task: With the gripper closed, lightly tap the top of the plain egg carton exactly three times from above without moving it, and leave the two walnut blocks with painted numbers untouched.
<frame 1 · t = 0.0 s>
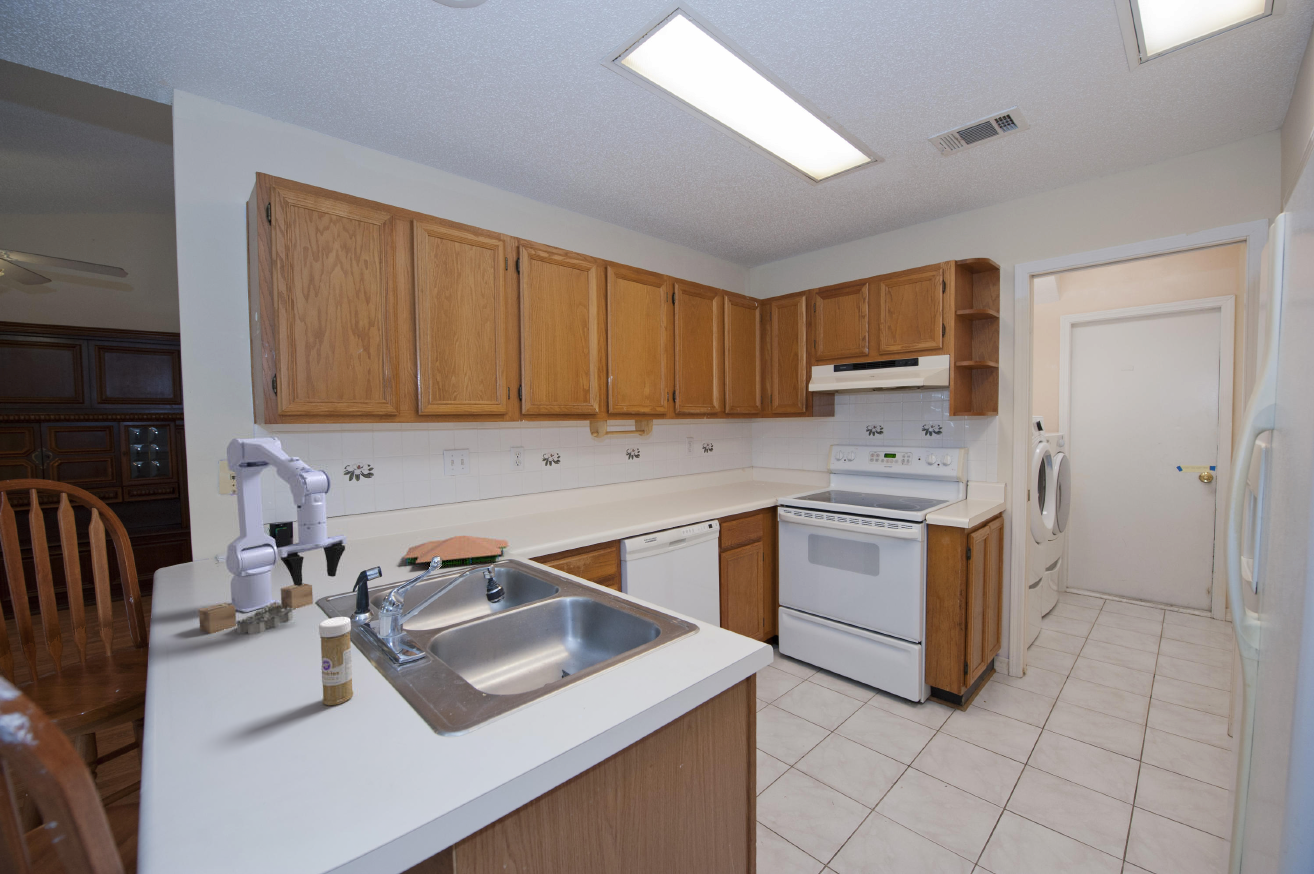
hand: (315, 580, 126), 10 cm above the worktop, tool pointing down, fingers open, 7 cm apart
egg carton: (266, 627, 126), on the worktop
numbered block seven: (218, 628, 125), on the worktop
numbered block one: (297, 605, 139), on the worktop
sprinkles bottle: (338, 700, 91), on the worktop
house: (458, 560, 183), on the worktop
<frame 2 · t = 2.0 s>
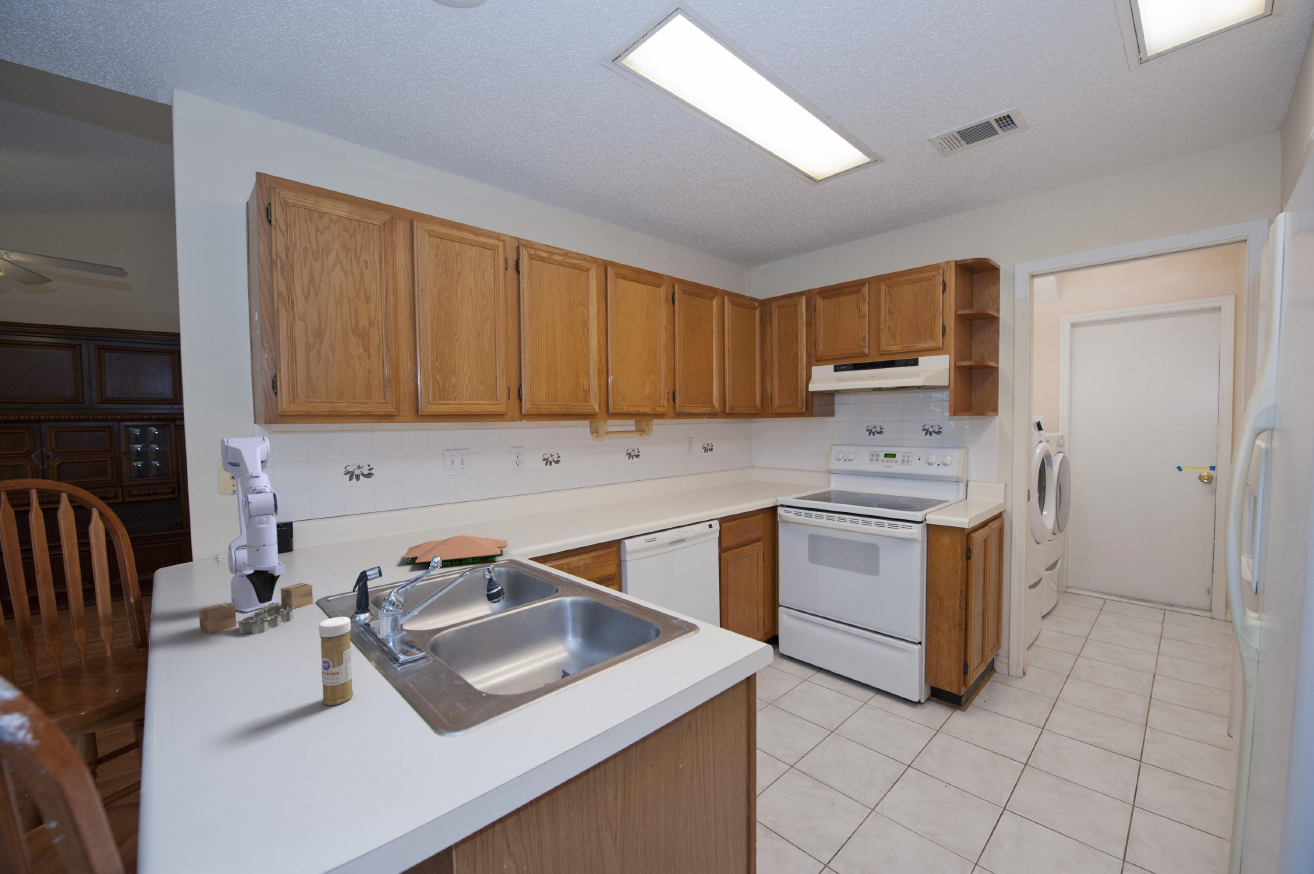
hand: (265, 601, 126), 5 cm above the worktop, tool pointing down, fingers closed
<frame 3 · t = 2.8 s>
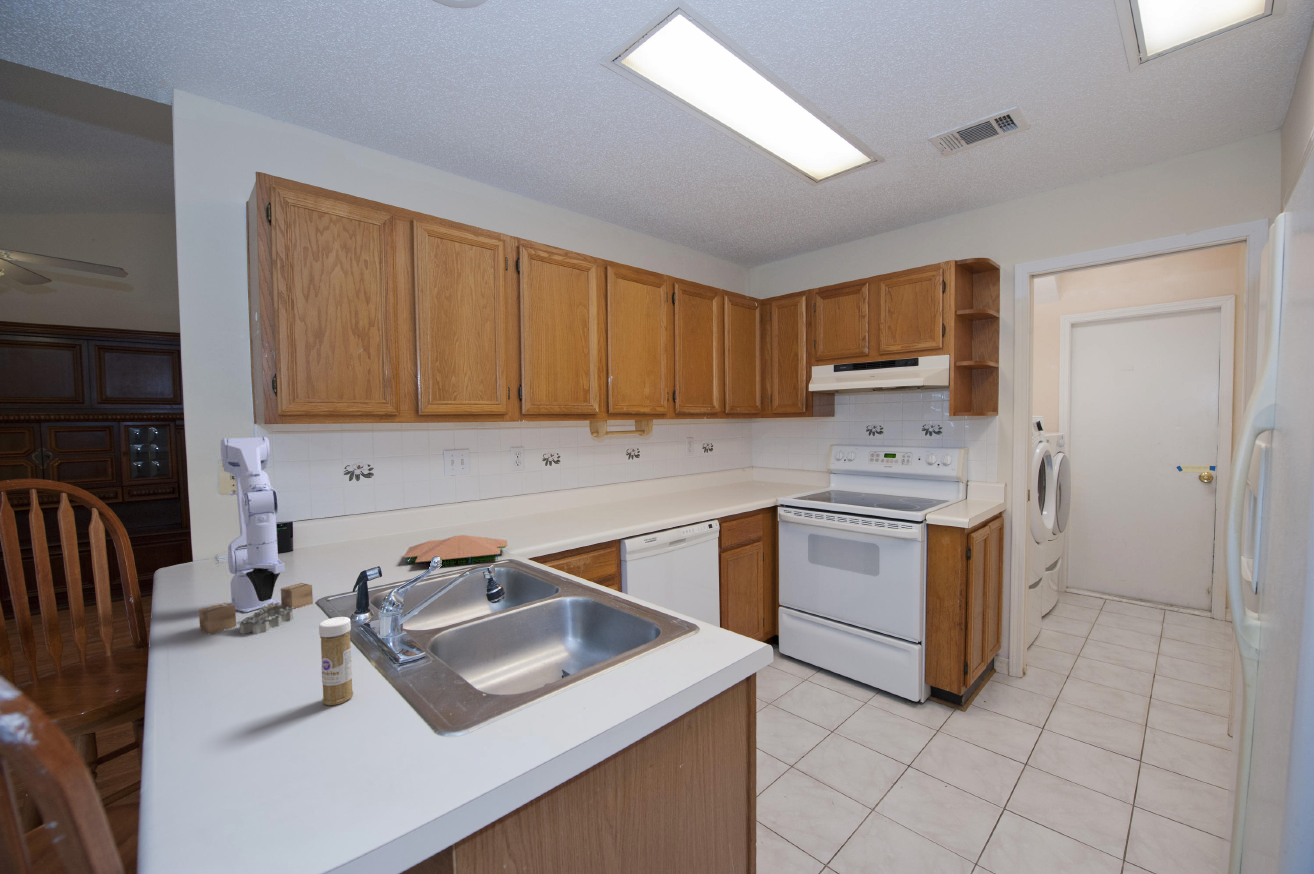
hand: (265, 599, 126), 6 cm above the worktop, tool pointing down, fingers closed
nothing on the worktop moved.
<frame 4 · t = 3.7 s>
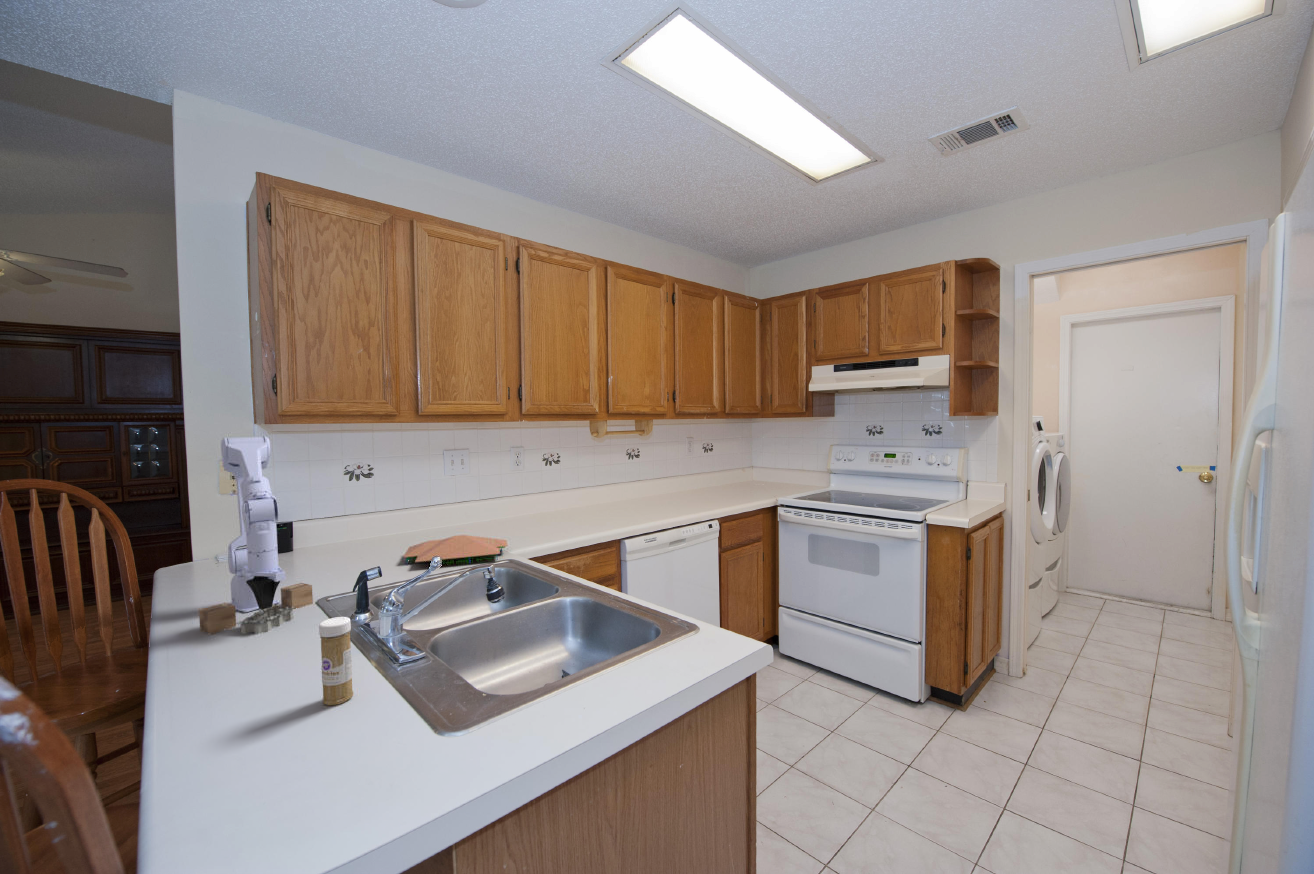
hand: (265, 607, 126), 4 cm above the worktop, tool pointing down, fingers closed
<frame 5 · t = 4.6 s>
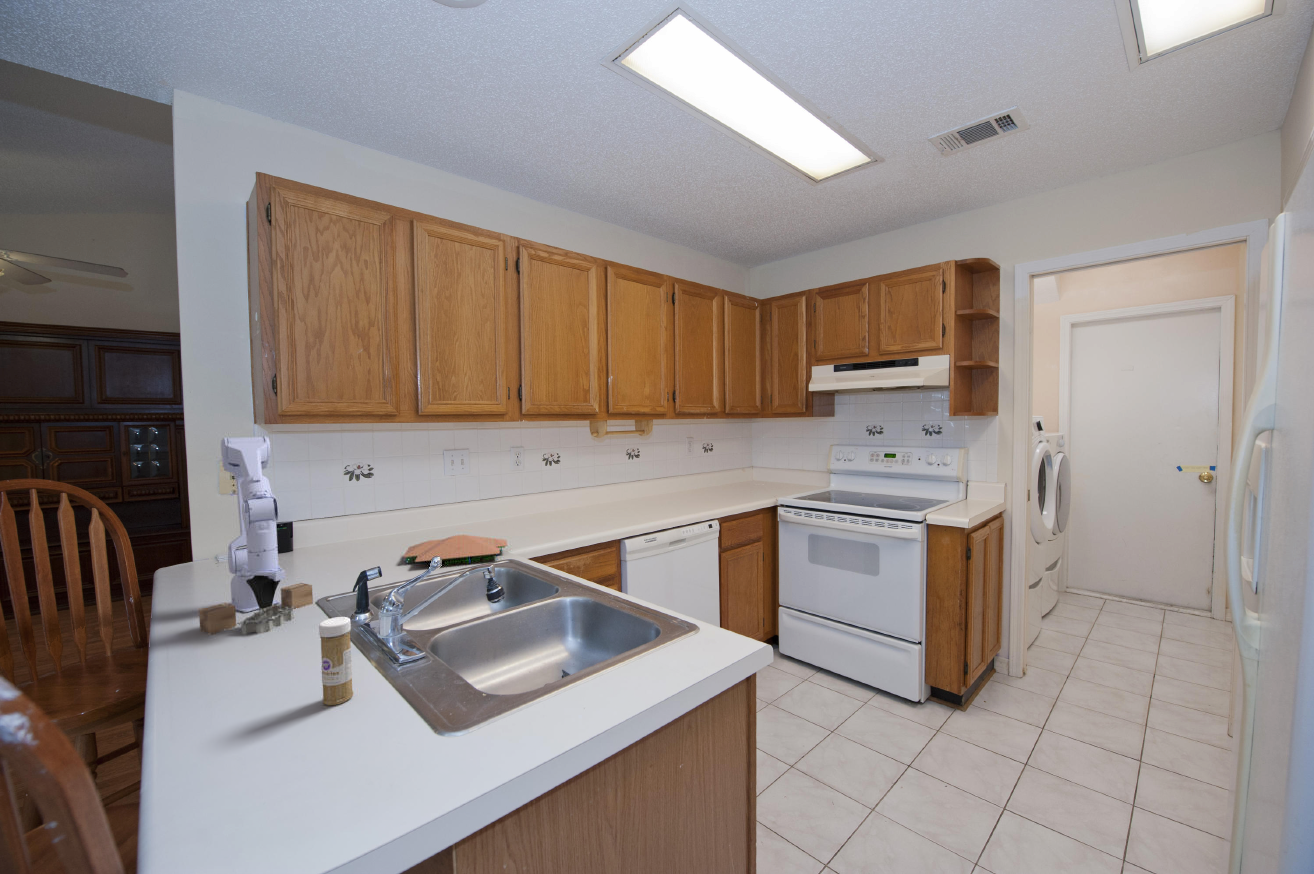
hand: (265, 607, 126), 4 cm above the worktop, tool pointing down, fingers closed
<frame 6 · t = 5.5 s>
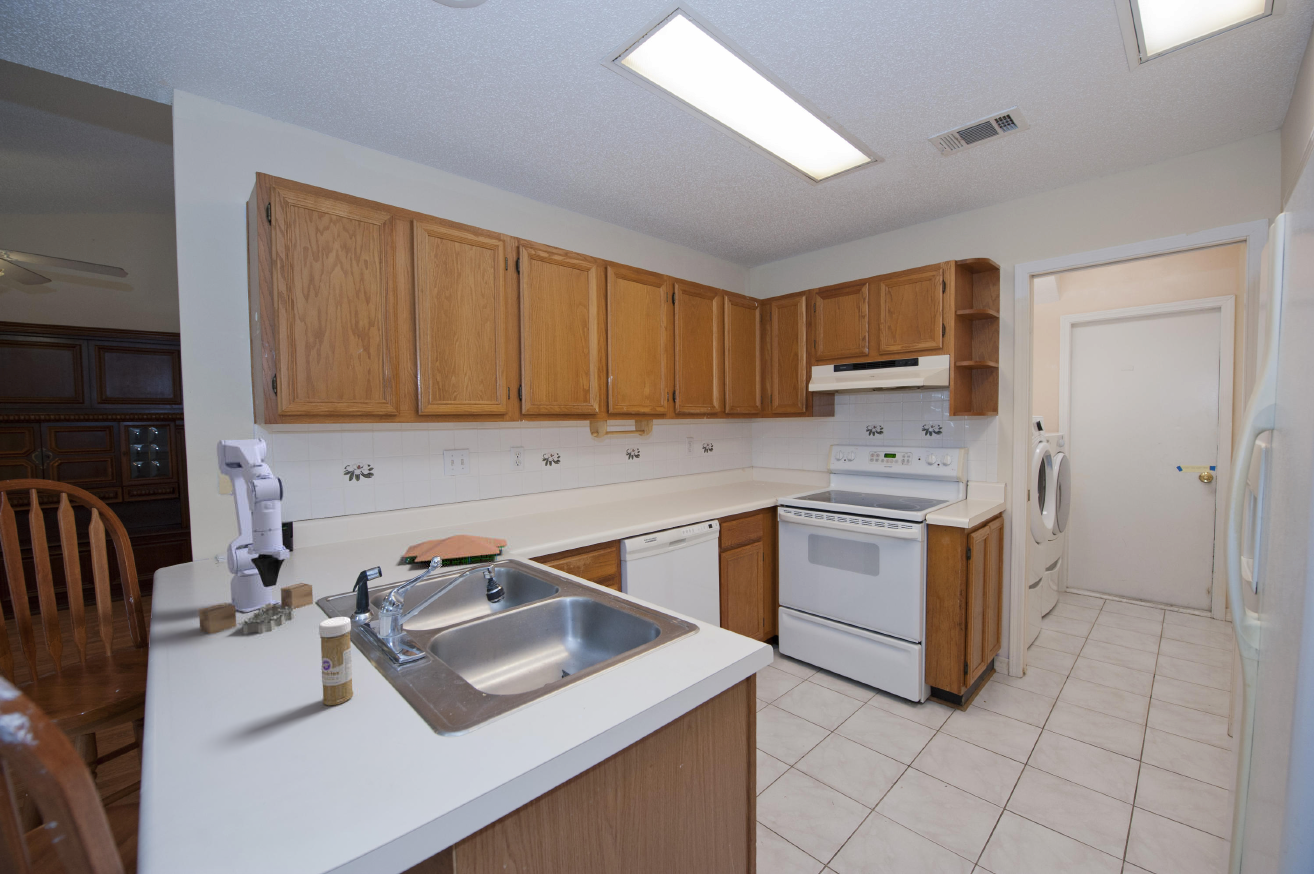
hand: (270, 585, 128), 9 cm above the worktop, tool pointing down, fingers closed
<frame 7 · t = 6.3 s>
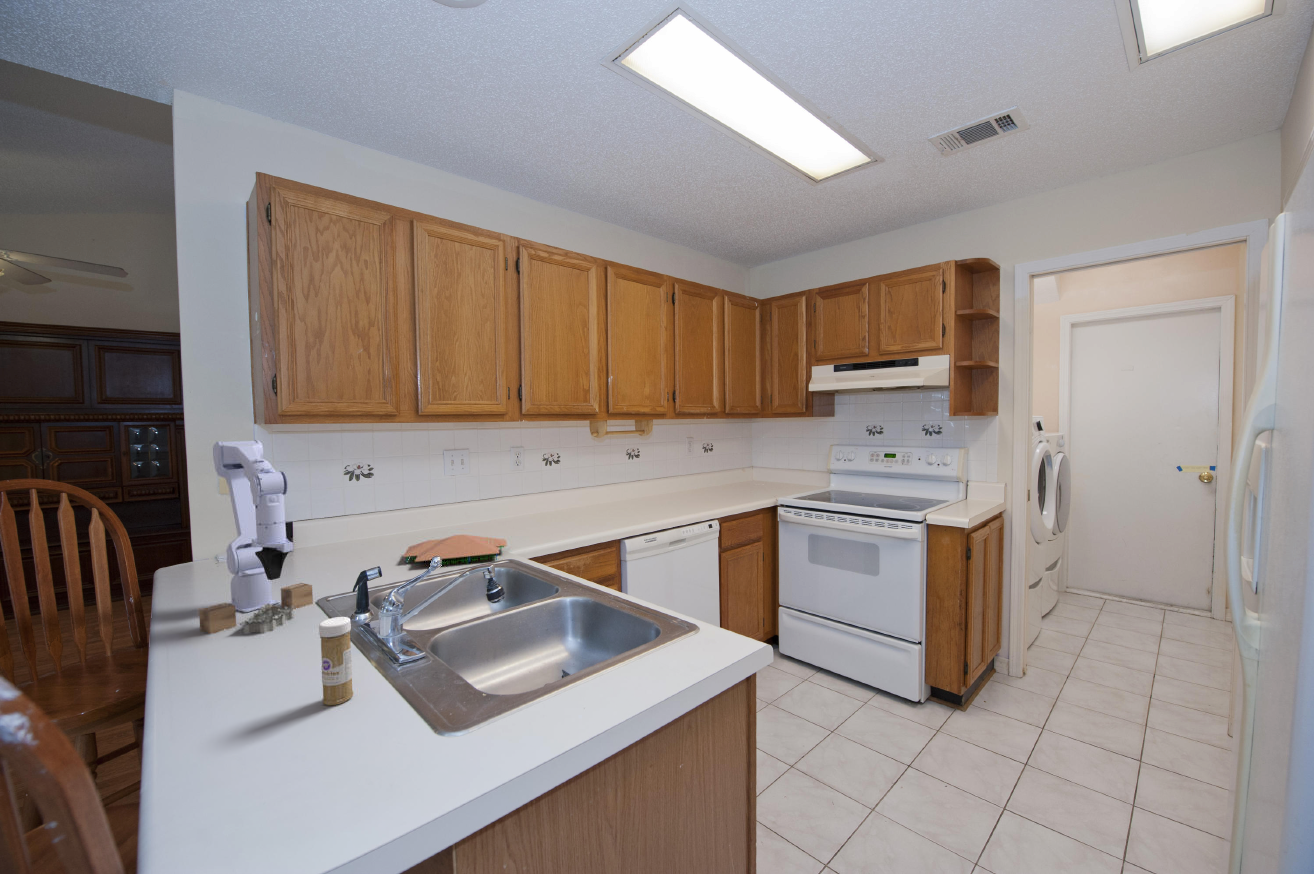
hand: (273, 578, 129), 10 cm above the worktop, tool pointing down, fingers closed
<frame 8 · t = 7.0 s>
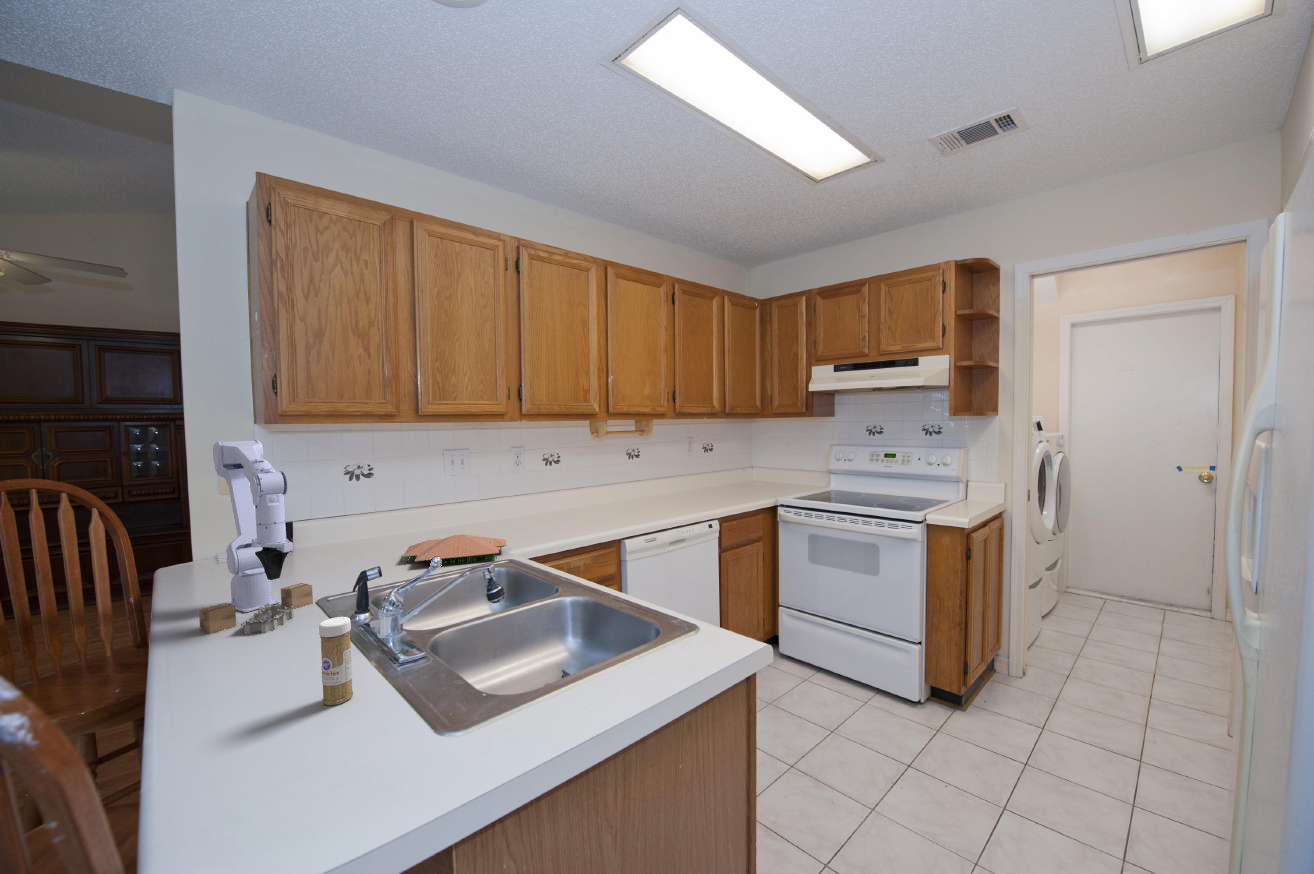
hand: (273, 578, 129), 10 cm above the worktop, tool pointing down, fingers closed
at the end: egg carton moved 1.0 cm from its start; egg carton tilted 0°; numbered block seven moved 0.1 cm from its start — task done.
